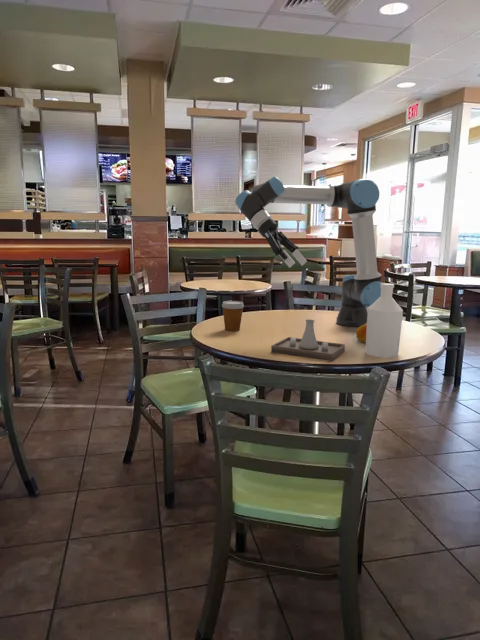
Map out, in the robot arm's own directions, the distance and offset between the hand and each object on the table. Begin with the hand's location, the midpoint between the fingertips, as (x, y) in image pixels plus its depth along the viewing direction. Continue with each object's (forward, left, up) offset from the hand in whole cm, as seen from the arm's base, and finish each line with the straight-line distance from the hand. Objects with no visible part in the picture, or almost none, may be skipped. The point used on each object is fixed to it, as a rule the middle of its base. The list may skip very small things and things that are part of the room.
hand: (298, 264), depth 181 cm
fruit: (-25, +11, -30) cm, 41 cm away
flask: (+4, +19, -28) cm, 34 cm away
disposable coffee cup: (+20, -22, -30) cm, 42 cm away
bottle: (-21, +27, -30) cm, 46 cm away
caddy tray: (+4, +19, -30) cm, 36 cm away
